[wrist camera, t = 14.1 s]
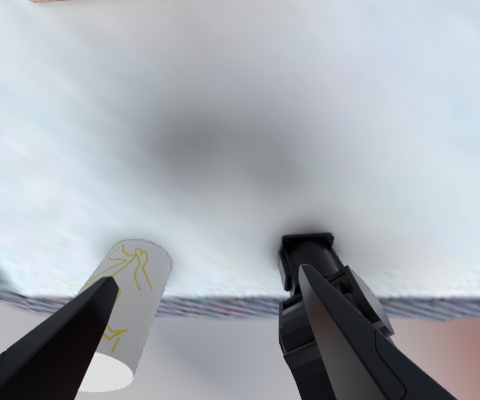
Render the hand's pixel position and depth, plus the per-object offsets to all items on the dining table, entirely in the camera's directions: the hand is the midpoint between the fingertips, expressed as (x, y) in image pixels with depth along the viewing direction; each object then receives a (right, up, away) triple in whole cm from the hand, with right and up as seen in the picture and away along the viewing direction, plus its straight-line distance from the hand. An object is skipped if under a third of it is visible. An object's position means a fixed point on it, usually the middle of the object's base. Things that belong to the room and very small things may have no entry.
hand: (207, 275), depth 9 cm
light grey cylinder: (-12, -5, +17) cm, 22 cm away
